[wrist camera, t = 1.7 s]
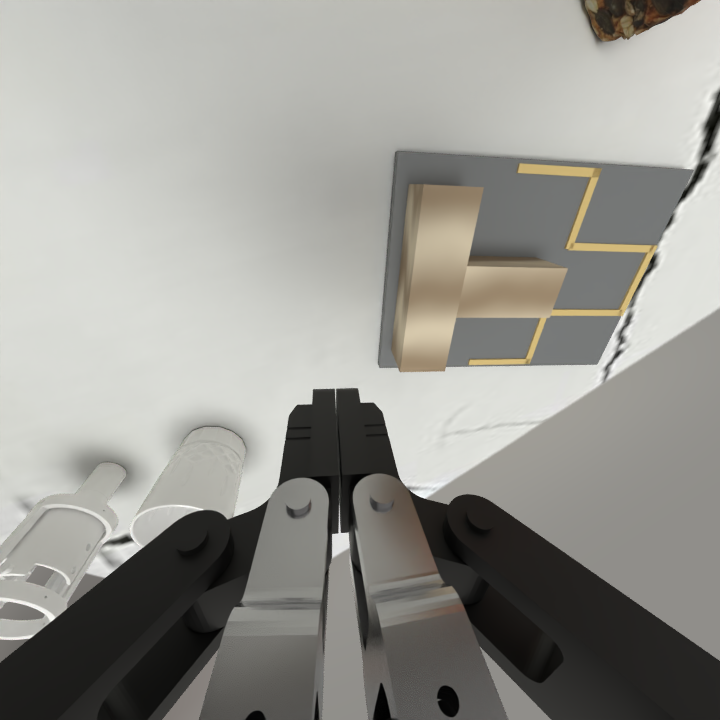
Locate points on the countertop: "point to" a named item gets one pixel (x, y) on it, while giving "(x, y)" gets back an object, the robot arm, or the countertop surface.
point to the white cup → (193, 482)
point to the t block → (457, 277)
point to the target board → (544, 248)
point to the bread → (631, 15)
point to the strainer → (56, 548)
